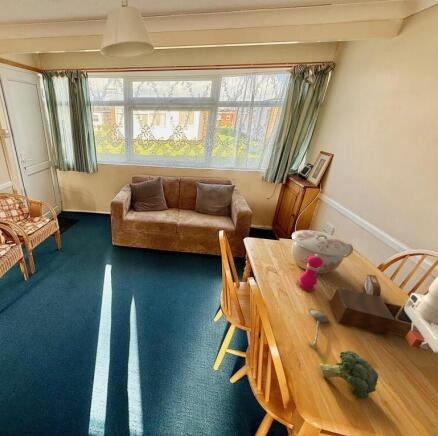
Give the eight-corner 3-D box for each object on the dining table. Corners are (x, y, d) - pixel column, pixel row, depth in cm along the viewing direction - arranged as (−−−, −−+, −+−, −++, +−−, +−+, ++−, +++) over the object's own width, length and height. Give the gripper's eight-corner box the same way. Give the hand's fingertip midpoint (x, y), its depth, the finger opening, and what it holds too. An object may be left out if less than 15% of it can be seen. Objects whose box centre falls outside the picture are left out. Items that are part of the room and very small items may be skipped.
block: (419, 341, 83) (425, 333, 81) (426, 350, 80) (432, 343, 78) (405, 337, 85) (410, 329, 83) (411, 346, 81) (416, 338, 80)
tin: (376, 304, 108) (384, 290, 104) (367, 301, 109) (375, 288, 105) (369, 285, 119) (376, 272, 116) (361, 283, 121) (367, 270, 117)
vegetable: (315, 346, 86) (367, 349, 78) (325, 387, 81) (382, 394, 73) (314, 352, 77) (373, 356, 69) (326, 398, 72) (391, 408, 64)
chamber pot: (277, 264, 136) (286, 234, 127) (293, 247, 152) (302, 219, 144) (334, 289, 117) (349, 255, 108) (345, 266, 134) (359, 236, 125)
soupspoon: (327, 317, 102) (310, 310, 106) (329, 311, 100) (312, 305, 104) (323, 352, 86) (303, 343, 90) (326, 346, 85) (305, 337, 89)
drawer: (414, 321, 98) (422, 309, 94) (432, 346, 87) (442, 333, 84) (358, 307, 105) (364, 295, 102) (369, 328, 94) (376, 316, 91)
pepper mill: (313, 284, 120) (325, 253, 111) (314, 293, 114) (327, 260, 106) (297, 280, 123) (308, 249, 115) (297, 288, 118) (309, 256, 109)
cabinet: (371, 311, 104) (380, 296, 100) (385, 336, 92) (395, 320, 89) (330, 301, 109) (337, 286, 106) (338, 323, 98) (346, 307, 94)
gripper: (475, 342, 66) (450, 371, 72) (432, 294, 83) (414, 321, 89) (445, 334, 68) (422, 363, 74) (408, 290, 85) (392, 316, 91)
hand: (417, 340), depth 82 cm, fingers closed on block, 4 cm apart
